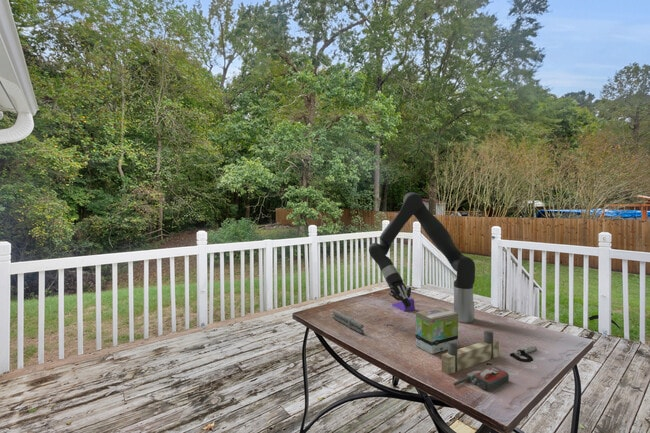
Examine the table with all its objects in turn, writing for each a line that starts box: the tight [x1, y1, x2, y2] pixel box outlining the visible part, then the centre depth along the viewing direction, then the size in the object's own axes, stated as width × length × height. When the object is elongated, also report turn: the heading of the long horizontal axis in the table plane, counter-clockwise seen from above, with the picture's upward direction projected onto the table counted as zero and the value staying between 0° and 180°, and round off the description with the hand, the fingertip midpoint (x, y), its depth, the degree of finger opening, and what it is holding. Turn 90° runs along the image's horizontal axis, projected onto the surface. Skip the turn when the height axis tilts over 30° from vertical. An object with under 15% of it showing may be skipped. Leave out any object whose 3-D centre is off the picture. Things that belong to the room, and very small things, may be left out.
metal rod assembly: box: [332, 309, 365, 335], centre depth 163 cm, size 26×3×5 cm, turn 29°
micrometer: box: [509, 345, 538, 363], centre depth 127 cm, size 15×7×3 cm, turn 113°
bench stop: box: [441, 329, 500, 375], centre depth 122 cm, size 28×3×10 cm, turn 118°
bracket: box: [391, 297, 415, 312], centre depth 190 cm, size 12×7×7 cm, turn 23°
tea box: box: [415, 306, 459, 355], centre depth 137 cm, size 15×10×15 cm, turn 117°
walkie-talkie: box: [453, 366, 510, 392], centre depth 108 cm, size 9×4×20 cm
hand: (408, 307), depth 152 cm, fingers closed
